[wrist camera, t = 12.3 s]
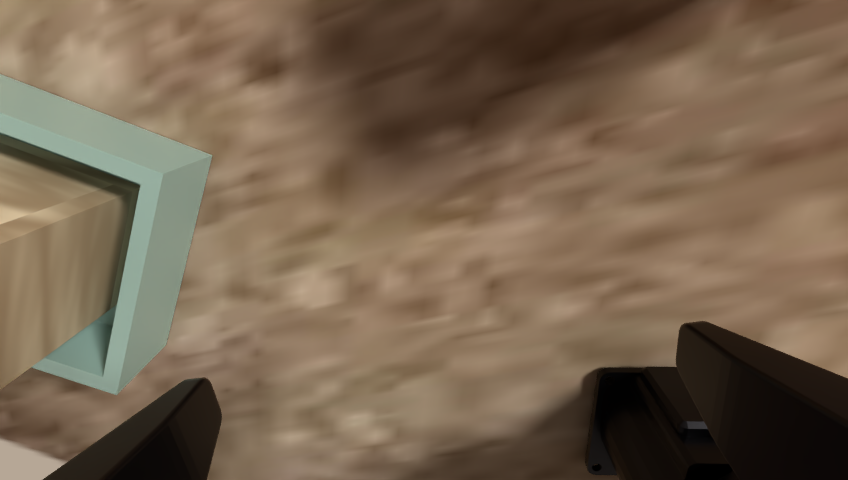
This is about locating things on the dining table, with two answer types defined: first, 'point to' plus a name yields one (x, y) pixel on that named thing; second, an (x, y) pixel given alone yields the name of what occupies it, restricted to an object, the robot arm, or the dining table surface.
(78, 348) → the teal crate
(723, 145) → the dining table surface
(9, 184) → the birch crate
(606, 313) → the dining table surface
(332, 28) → the dining table surface
